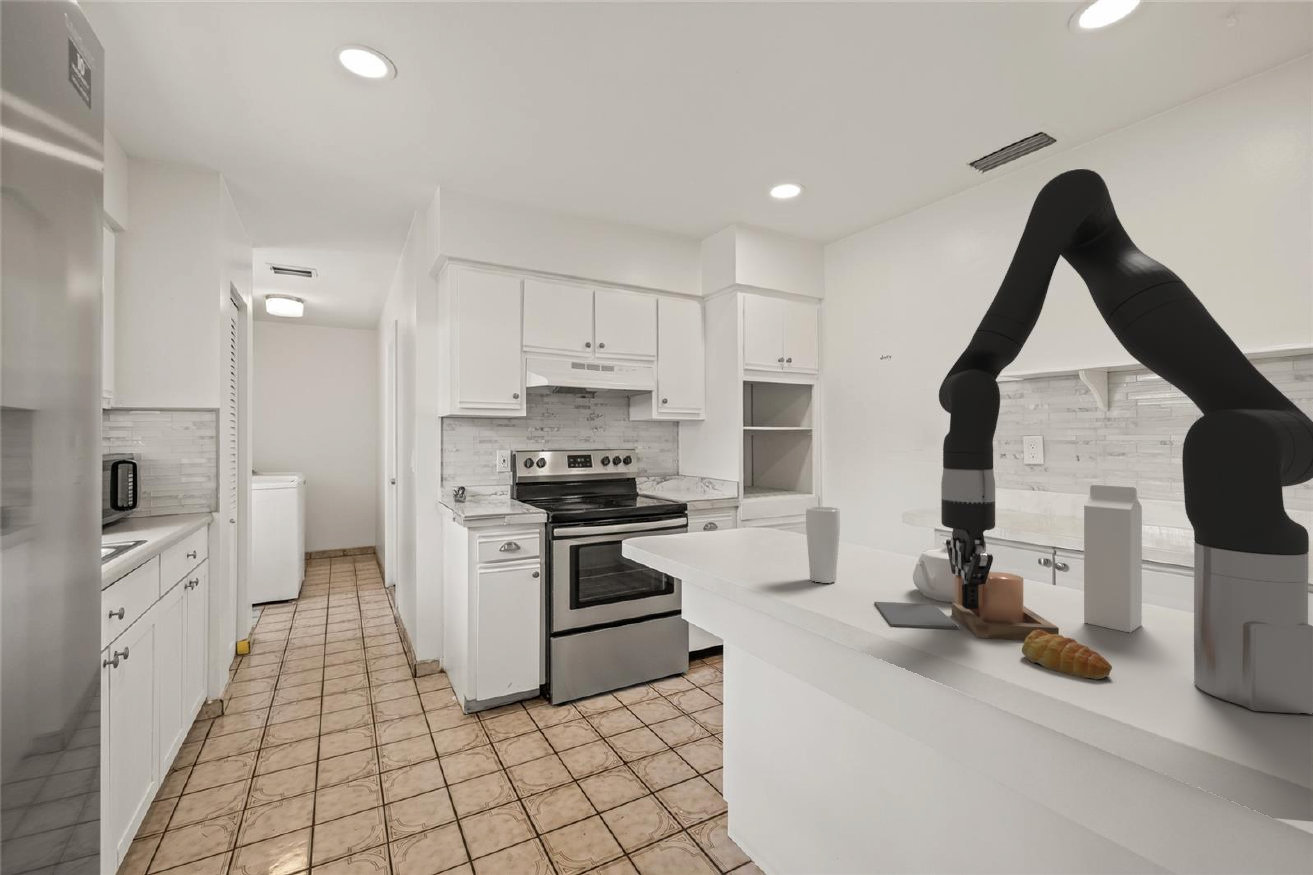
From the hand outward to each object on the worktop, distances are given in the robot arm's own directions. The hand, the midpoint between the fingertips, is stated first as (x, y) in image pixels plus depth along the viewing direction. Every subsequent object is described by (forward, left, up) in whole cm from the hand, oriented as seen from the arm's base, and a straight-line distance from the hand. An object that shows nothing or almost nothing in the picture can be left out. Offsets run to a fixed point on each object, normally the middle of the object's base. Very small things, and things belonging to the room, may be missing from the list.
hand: (967, 606), depth 91 cm
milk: (+4, -23, -3) cm, 23 cm away
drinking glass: (+25, +19, -3) cm, 32 cm away
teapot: (+17, -3, -3) cm, 18 cm away
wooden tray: (0, -5, -3) cm, 6 cm away
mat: (+4, +7, -3) cm, 9 cm away
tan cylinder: (0, -3, -3) cm, 4 cm away
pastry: (-14, -7, -4) cm, 16 cm away
